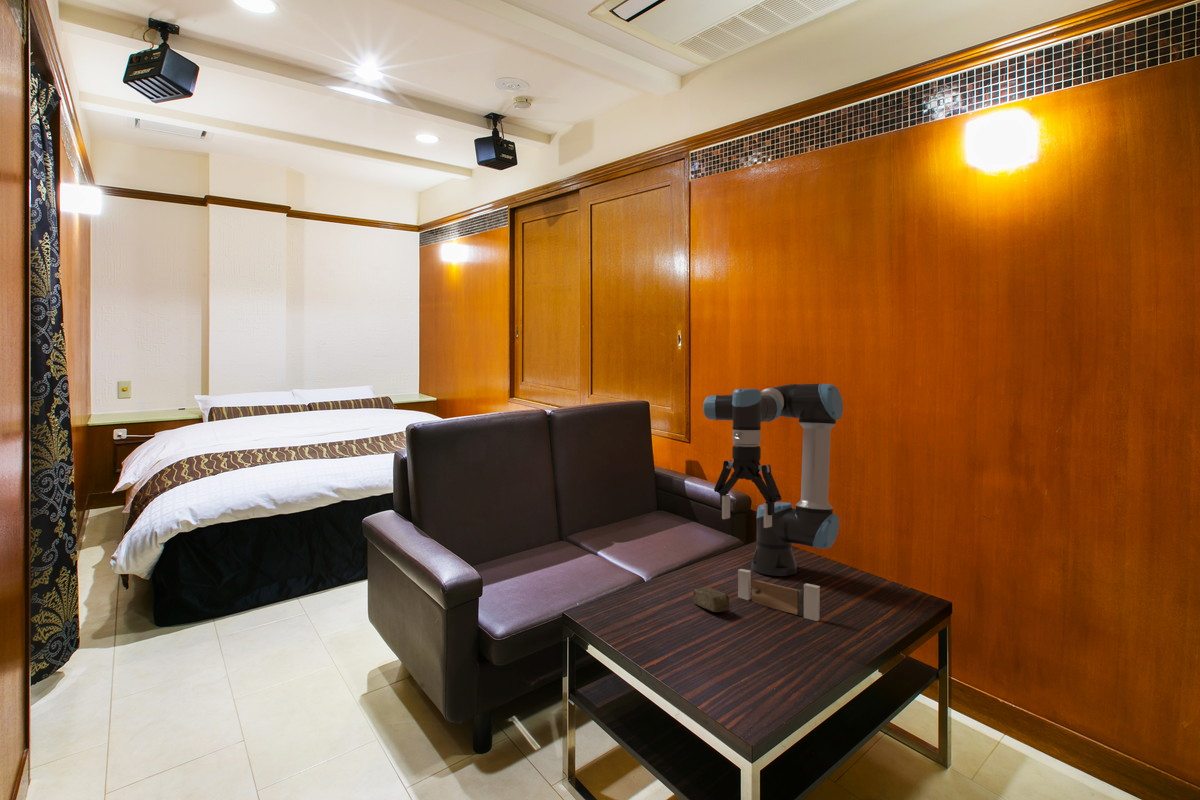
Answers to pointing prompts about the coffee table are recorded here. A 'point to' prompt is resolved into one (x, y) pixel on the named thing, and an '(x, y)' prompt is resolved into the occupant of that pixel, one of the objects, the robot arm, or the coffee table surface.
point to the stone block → (711, 599)
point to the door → (778, 597)
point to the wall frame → (809, 594)
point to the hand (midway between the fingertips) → (746, 522)
